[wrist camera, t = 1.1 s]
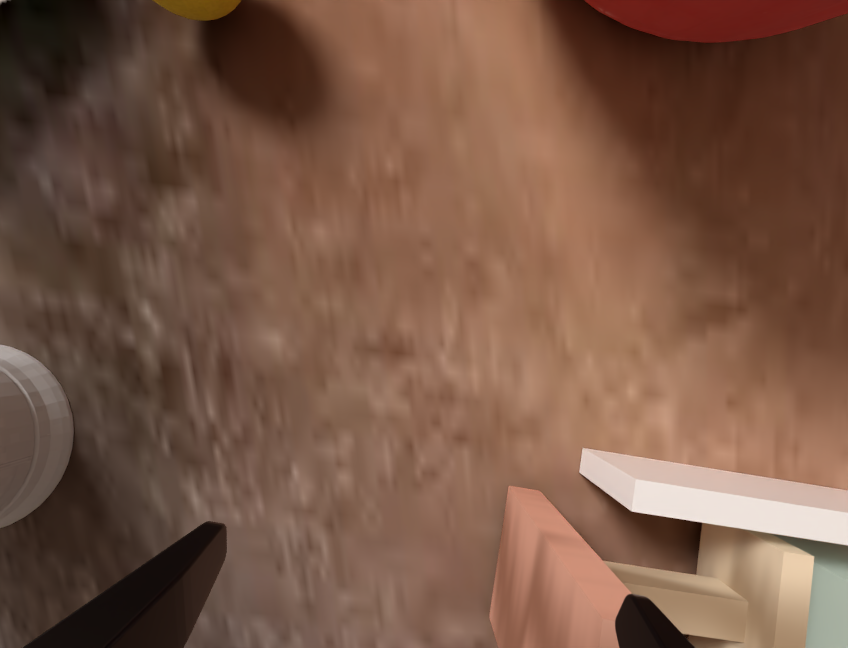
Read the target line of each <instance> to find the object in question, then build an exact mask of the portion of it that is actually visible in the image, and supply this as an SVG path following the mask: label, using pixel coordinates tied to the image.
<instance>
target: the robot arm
mask: <svg viewBox="0 0 848 648" xmlns="http://www.w3.org/2000/svg"><path fill="white" fill-rule="evenodd" d="M226 552H227V532H226V526H225V524H223V523H217V522H211V521H208V522H205V523H203V524H202V525H200V526H199V527H197V528H196V529H194V530H193V531H191V532H190V533H189V534H187V535H186V536H184V537H183V538H181V539H180V540H178V541H177V542H175V543H174V544H173V545H171V546H170V547H168V548H167V549H165V550H164V551H162V552H161V553H159V554H158V555H157V556H155V557H154V558H152V559H151V560H149V561H148V562H146V563H145V564H143V565H142V566H141V567H139V568H138V569H136V570H135V571H133V572H132V573H130V574H129V575H127V576H126V577H125V578H123V579H122V580H120V581H119V582H117V583H116V584H114V585H113V586H112V587H110V588H109V589H107V590H106V591H104V592H103V593H101V594H100V595H98V596H97V597H96V598H94V599H93V600H91V601H90V602H88V603H87V604H85V605H84V606H82V607H81V608H80V609H78V610H77V611H75V612H74V613H72V614H71V615H69V616H68V617H66V618H65V619H64V620H62V621H61V622H59V623H58V624H56V625H55V626H53V627H52V628H50V629H49V630H48V631H46V632H45V633H43V634H42V635H40V636H39V637H37V638H36V639H34V640H33V641H32V642H30V643H29V644H27V645H26V646H24V647H23V648H183V647H184V645H185V644H186V642H187V640H188V638H189V636H190V634H191V632H192V630H193V627H194V625H195V623H196V621H197V619H198V617H199V615H200V612H201V610H202V608H203V606H204V604H205V602H206V599H207V597H208V595H209V593H210V591H211V589H212V587H213V584H214V582H215V580H216V578H217V576H218V574H219V571H220V569H221V567H222V565H223V563H224V560H225V557H226ZM615 630H616V635H617V640H618V644H619V648H695V647H694V646H693V645H692V644H691V642H690V641H689V640H688V639H687V638H686V637H685V636H684V635H683V634H682V633H681V632H680V631H679V630H678V628H677V627H676V626H675V625H674V624H673V623H672V622H671V621H670V620H669V619H668V618H667V617H666V616H665V615H664V613H663V612H662V611H661V610H660V609H659V608H658V607H657V606H656V605H655V604H654V603H653V602H652V601H651V600H650V599H649V598H648V597H645V596H641V595H636V594H628V595H626V597H625V599H624V601H623V603H622V605H621V607H620V609H619V612H618V614H617V616H616V619H615Z"/></svg>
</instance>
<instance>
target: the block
mask: <svg viewBox="0 0 848 648" xmlns="http://www.w3.org/2000/svg"><path fill="white" fill-rule="evenodd" d="M772 535H774V536H776V537H778V538H780V539H782V540H784V541H786V542H787V543H789V544H791V545H793V546H795V547H797V548H799V549H801V550H803V551H805V552H807V553H809V554H810V555H812V556H814V565H813V575H812V585H811V595H810V605H809V615H808V625H807V635H806V644H805V648H848V546H846V545H839V544H833V543H826V542H820V541H814V540H807V539H801V538H794V537H788V536H782V535H775V534H772Z"/></svg>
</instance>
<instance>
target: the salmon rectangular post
mask: <svg viewBox="0 0 848 648" xmlns="http://www.w3.org/2000/svg"><path fill="white" fill-rule="evenodd" d="M813 565H814V556H812V555H810V554H809V553H807V552H805V551H803V550H801V549H799V548H797V547H795V546H793V545H791V544H789V543H787V542H786V541H784V540H782V539H780V538H778V537H776V536H774V535H772V534H770V533H766V532H759V531H753V530H746V529H740V528H734V527H727V526H721V525H715V524H708V523H702V530H701V538H700V547H699V555H698V563H697V572H696V575H693V574H687V573H680V572H673V571H667V570H660V569H654V568H647V567H641V566H634V565H628V564H621V563H615V562H608V561H602V560H601V558H600V557H599V556H598V555H597V554H596V553H595V552H594V551H593V549H592V548H591V547H590V546H589V545H588V544H587V543H586V542H585V541H584V539H583V538H582V537H581V536H580V535H579V534H578V533H577V532H576V531H575V529H574V528H573V527H572V526H571V525H570V524H569V523H568V522H567V520H566V519H565V518H564V517H563V516H562V515H561V514H560V513H559V512H558V510H557V509H556V508H555V507H554V506H553V505H552V504H551V503H550V501H549V500H548V499H547V498H546V497H545V496H544V495H543V494H542V493H541V491H539V490H533V489H526V488H520V487H514V486H509V487H508V494H507V501H506V507H505V514H504V521H503V527H502V534H501V541H500V548H499V554H498V561H497V568H496V574H495V581H494V588H493V595H492V601H491V608H490V615H489V617H490V621H491V624H492V628H493V631H494V634H495V638H496V641H497V645H498V648H619V644H618V640H617V635H616V630H615V619H616V616H617V614H618V612H619V609H620V607H621V605H622V603H623V601H624V599H625V597H626V595H628V594H636V595H641V596H645V597H648V598H649V599H650V600H651V601H652V602H653V603H654V604H655V605H656V606H657V607H658V608H659V609H660V610H661V611H662V612H663V613H664V615H665V616H666V617H667V618H668V619H669V620H670V621H671V622H672V623H673V624H674V625H675V626H676V627H677V628H678V630H679V631H680V632H681V633H682V634H689V639H688V640H689V641H690V642H691V644H692V645H693V646H694V647H695V648H805V644H806V635H807V625H808V615H809V605H810V595H811V585H812V575H813Z"/></svg>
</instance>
